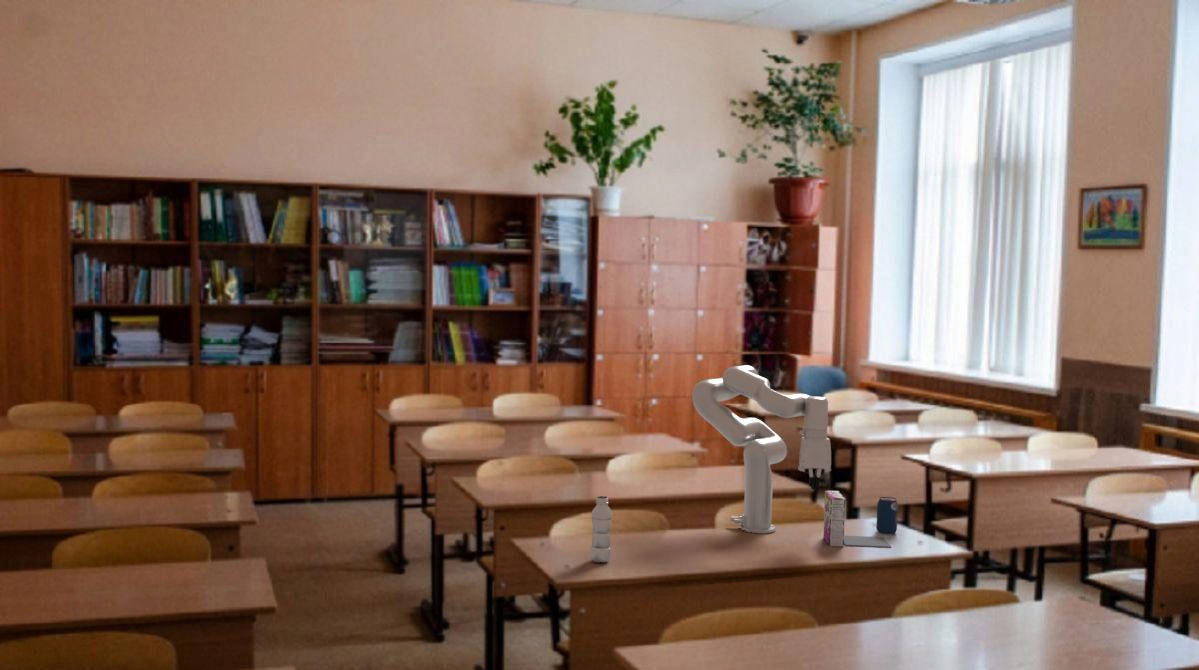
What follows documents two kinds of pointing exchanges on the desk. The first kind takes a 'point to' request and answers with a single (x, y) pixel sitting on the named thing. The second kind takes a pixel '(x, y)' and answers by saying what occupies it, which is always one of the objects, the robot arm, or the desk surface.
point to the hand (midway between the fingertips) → (813, 488)
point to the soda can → (887, 515)
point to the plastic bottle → (601, 531)
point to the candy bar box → (834, 518)
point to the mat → (866, 541)
